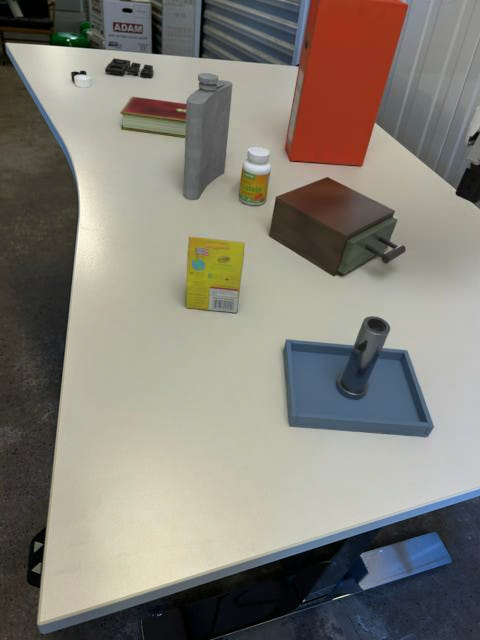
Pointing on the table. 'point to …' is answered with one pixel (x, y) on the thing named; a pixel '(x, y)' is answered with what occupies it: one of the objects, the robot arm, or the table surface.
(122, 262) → the table surface
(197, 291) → the crayon box
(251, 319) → the table surface
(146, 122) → the hardcover book
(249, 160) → the supplement bottle
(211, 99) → the hip flask
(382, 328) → the grey rod with base
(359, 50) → the file binder
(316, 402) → the tray
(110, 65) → the black white parts set
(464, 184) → the robot arm
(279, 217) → the cabinet
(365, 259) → the drawer
